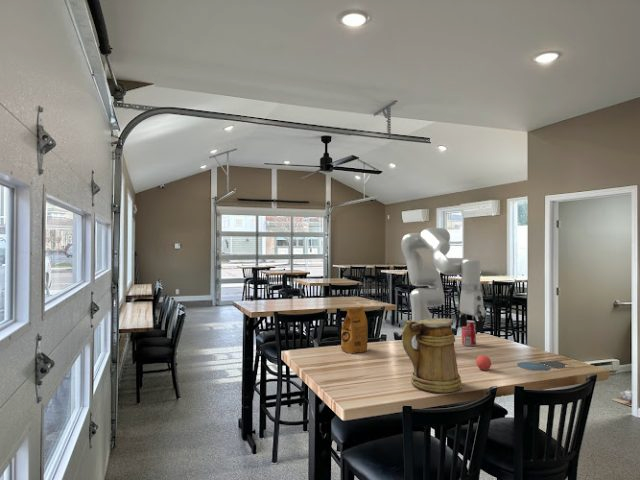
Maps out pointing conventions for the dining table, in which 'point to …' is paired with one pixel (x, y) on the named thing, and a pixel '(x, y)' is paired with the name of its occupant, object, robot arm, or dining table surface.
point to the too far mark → (554, 364)
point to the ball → (483, 362)
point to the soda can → (469, 334)
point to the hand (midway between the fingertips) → (470, 328)
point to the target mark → (533, 366)
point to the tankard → (432, 355)
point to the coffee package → (354, 331)
